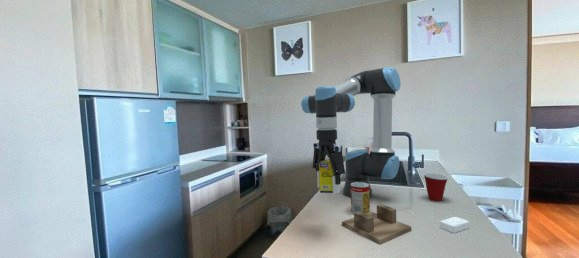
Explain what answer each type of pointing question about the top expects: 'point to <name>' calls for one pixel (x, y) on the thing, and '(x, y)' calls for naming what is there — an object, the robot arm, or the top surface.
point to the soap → (454, 224)
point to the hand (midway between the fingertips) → (328, 189)
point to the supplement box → (326, 177)
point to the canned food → (360, 197)
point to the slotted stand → (377, 224)
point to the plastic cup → (435, 185)
